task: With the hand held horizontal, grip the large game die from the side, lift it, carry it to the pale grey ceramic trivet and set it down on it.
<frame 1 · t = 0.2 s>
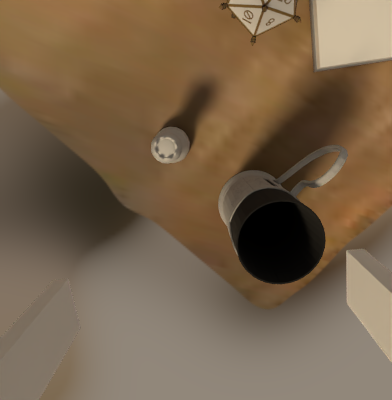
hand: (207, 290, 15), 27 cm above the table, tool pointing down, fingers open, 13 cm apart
rook chess piece: (172, 144, 40), on the table
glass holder: (265, 186, 41), on the table
trivet: (362, 9, 37), on the table
game die: (256, 7, 37), on the table
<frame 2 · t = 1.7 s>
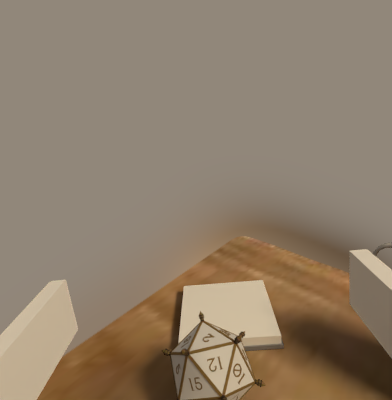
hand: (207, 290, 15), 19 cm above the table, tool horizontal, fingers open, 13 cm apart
trivet: (226, 317, 42), on the table
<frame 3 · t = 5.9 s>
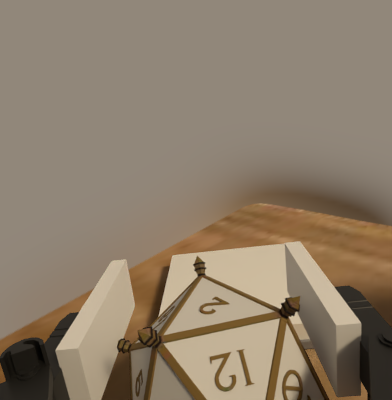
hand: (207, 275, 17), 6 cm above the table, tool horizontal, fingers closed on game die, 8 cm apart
trivet: (242, 298, 25), on the table
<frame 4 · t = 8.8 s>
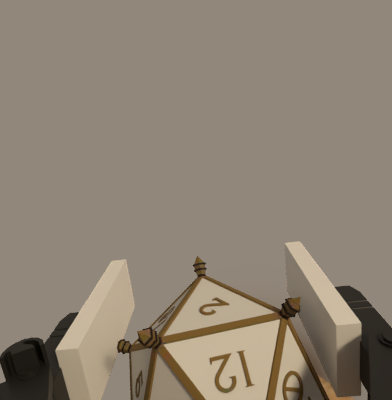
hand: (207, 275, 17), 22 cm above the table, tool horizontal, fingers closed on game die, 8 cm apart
when the fingers open (9 cm above the table, at t = 11.6 s): game die drops 1 cm, resting on trivet.
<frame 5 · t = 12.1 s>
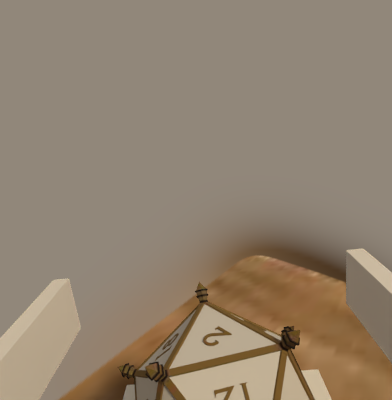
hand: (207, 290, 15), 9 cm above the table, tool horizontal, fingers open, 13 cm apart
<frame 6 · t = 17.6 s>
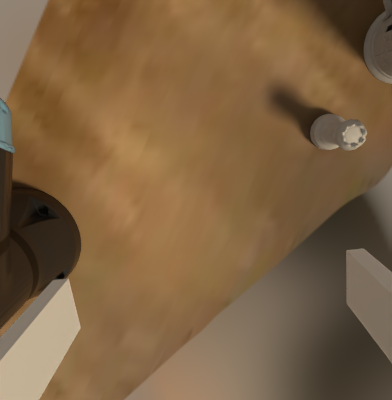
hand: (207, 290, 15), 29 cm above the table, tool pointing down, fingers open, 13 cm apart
rook chess piece: (325, 131, 41), on the table
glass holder: (383, 30, 38), on the table
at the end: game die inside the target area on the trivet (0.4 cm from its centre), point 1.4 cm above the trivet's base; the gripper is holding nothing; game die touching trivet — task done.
